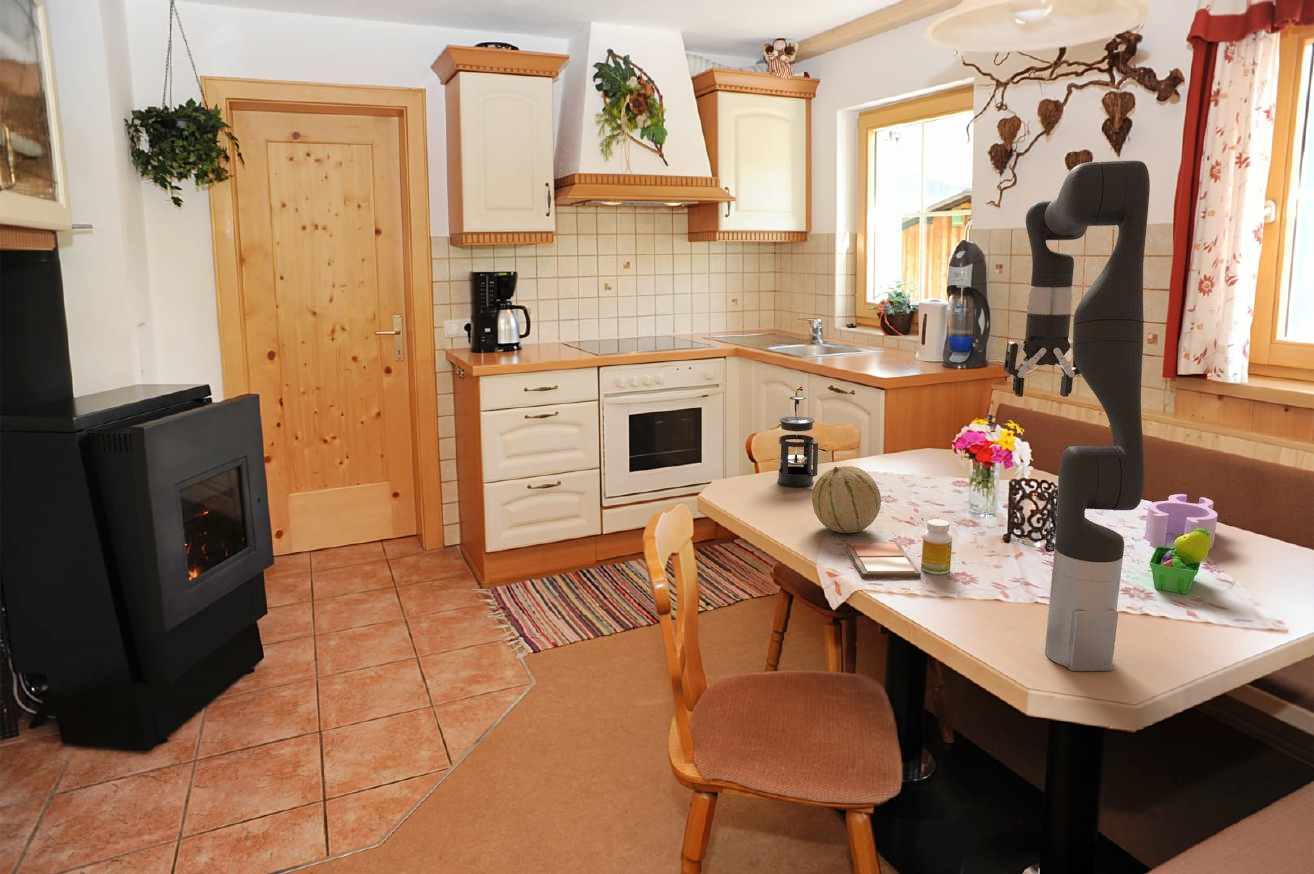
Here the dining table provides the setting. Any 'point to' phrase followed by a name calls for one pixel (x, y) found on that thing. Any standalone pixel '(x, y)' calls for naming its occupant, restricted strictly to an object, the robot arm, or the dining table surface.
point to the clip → (1179, 518)
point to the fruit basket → (1180, 561)
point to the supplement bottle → (936, 547)
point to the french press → (796, 474)
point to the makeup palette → (882, 560)
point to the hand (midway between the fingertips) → (1041, 396)
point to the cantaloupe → (846, 499)
